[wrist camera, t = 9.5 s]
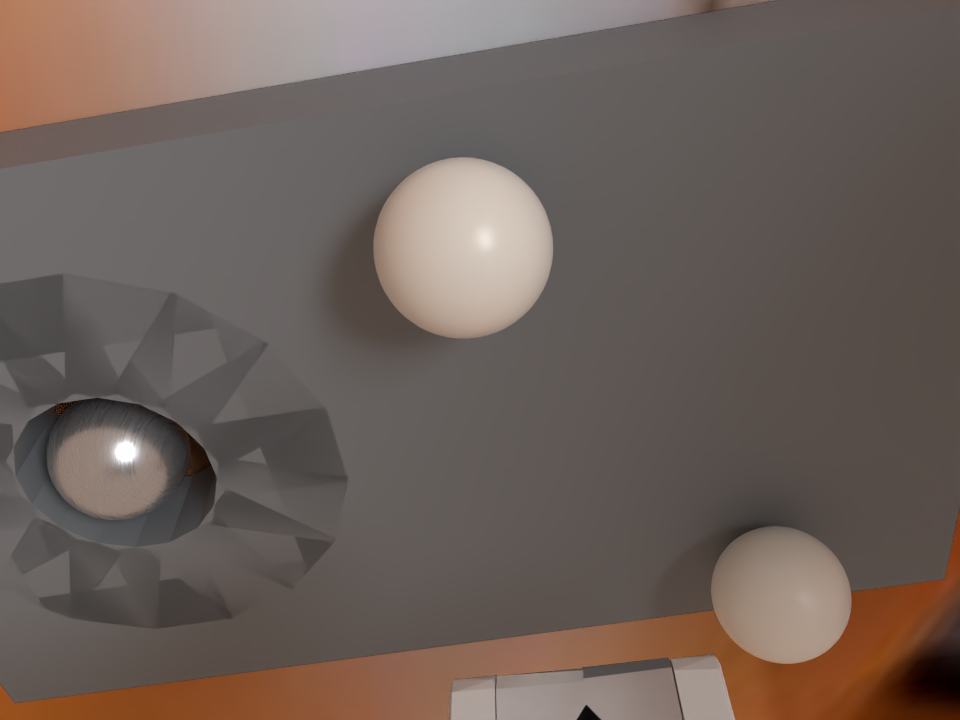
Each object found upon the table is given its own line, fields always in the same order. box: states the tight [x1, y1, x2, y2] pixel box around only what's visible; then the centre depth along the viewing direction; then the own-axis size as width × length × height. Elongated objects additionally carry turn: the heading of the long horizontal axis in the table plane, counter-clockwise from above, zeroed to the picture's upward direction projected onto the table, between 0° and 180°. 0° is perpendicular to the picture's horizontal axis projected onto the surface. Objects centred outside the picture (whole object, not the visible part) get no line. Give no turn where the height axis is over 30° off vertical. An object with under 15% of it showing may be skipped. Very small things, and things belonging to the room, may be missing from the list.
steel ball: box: [47, 398, 190, 520], centre depth 21 cm, size 3×3×3 cm
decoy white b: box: [373, 157, 553, 339], centre depth 16 cm, size 3×3×3 cm
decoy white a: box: [711, 526, 852, 664], centre depth 21 cm, size 3×3×3 cm
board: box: [0, 0, 960, 703], centre depth 21 cm, size 26×15×2 cm, turn 99°
